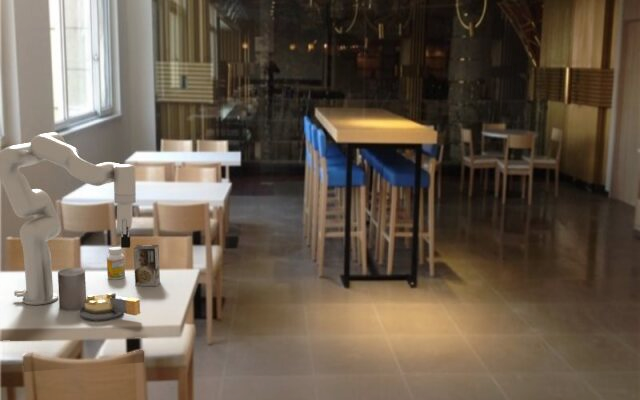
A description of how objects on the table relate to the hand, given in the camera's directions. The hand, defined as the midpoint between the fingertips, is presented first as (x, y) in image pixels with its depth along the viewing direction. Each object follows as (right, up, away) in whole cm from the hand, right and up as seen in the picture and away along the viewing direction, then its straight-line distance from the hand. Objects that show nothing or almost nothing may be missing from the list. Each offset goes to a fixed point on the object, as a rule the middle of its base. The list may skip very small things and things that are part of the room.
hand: (125, 247), depth 262 cm
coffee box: (0, -18, +32) cm, 37 cm away
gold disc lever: (-3, -22, -6) cm, 23 cm away
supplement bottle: (-15, -16, +41) cm, 46 cm away
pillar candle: (-21, -23, +4) cm, 31 cm away
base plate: (-7, -24, -4) cm, 26 cm away
